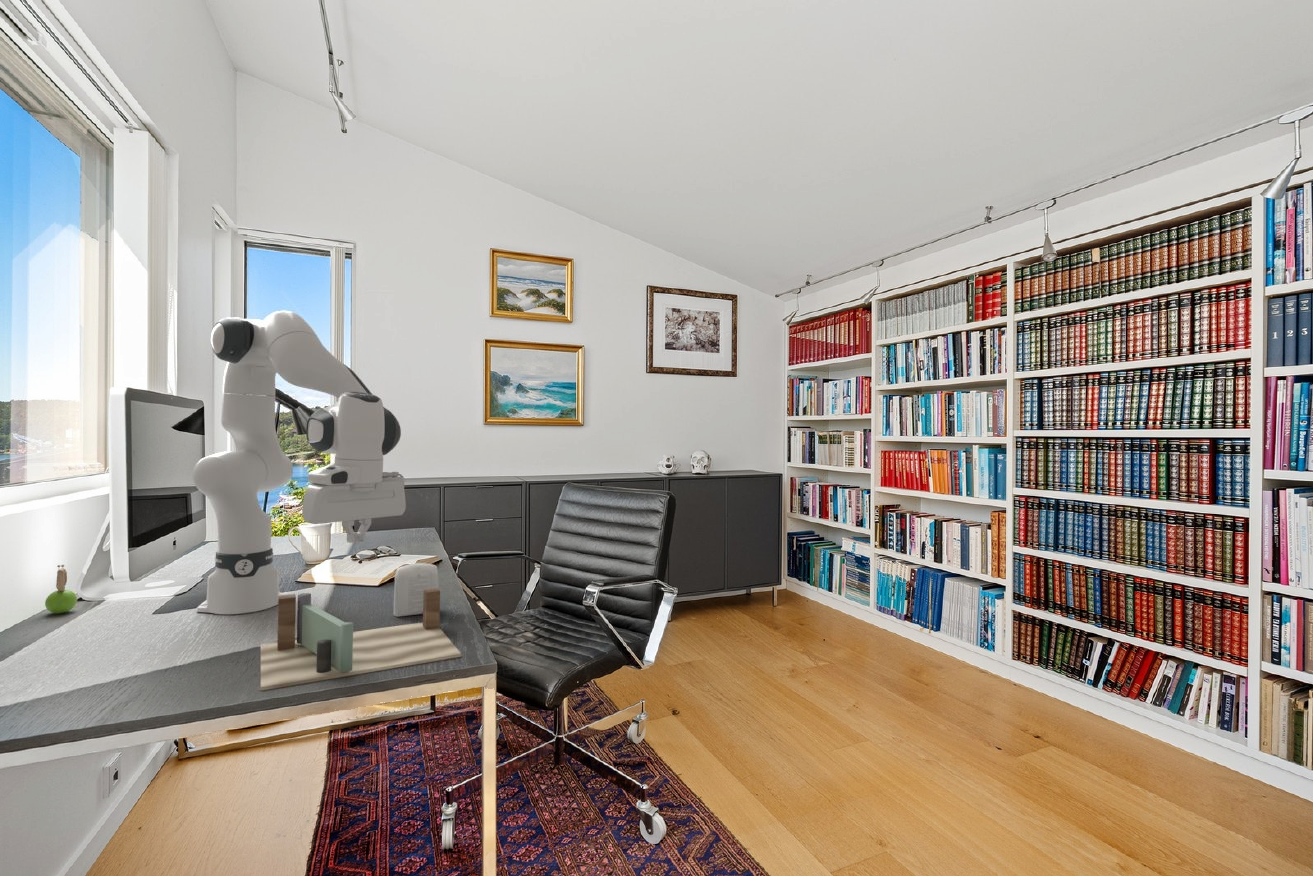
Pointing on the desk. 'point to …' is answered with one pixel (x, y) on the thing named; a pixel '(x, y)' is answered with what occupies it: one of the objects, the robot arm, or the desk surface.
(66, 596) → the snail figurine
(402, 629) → the gate frame
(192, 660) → the desk surface
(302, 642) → the gate
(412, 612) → the photo printer
